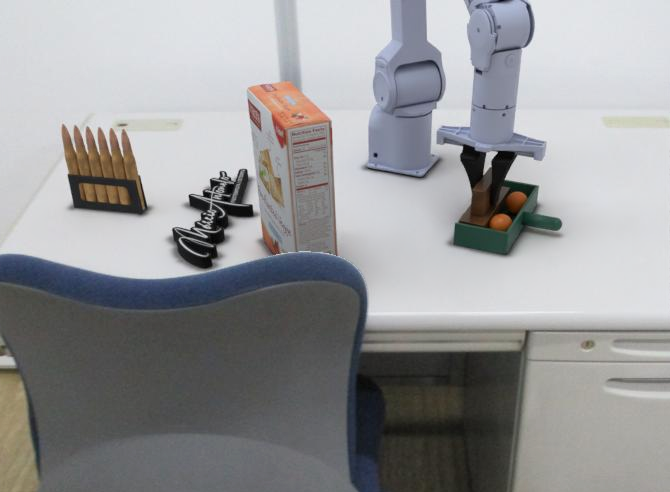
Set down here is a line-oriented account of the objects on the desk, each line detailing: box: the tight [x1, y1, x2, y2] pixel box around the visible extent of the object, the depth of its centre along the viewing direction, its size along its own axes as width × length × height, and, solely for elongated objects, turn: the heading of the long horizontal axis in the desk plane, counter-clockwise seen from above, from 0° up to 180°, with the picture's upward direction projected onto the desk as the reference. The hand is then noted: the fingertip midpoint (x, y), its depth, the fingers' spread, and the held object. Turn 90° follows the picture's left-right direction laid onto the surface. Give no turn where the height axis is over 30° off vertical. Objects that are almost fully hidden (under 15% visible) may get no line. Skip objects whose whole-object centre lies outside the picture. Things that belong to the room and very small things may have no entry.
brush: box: [457, 166, 510, 229], centre depth 115 cm, size 4×13×6 cm, turn 157°
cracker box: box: [246, 80, 338, 256], centre depth 102 cm, size 14×6×21 cm, turn 24°
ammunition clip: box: [60, 123, 149, 215], centre depth 117 cm, size 11×2×12 cm, turn 79°
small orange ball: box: [489, 214, 513, 232], centre depth 113 cm, size 3×3×3 cm
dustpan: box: [453, 179, 563, 255], centre depth 115 cm, size 13×16×3 cm
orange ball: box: [506, 192, 528, 215], centre depth 118 cm, size 3×3×3 cm
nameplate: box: [171, 168, 254, 269], centre depth 117 cm, size 28×2×10 cm
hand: (485, 200), depth 115 cm, fingers closed on brush, 2 cm apart
